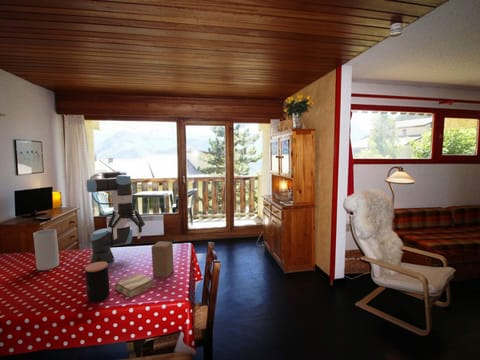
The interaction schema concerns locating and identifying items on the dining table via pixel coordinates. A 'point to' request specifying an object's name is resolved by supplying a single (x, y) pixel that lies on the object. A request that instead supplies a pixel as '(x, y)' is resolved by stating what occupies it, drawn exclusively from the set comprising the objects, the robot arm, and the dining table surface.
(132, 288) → the plinth
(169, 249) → the wooden block
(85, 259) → the dining table surface
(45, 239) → the cylinder vase
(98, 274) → the coffee jar
